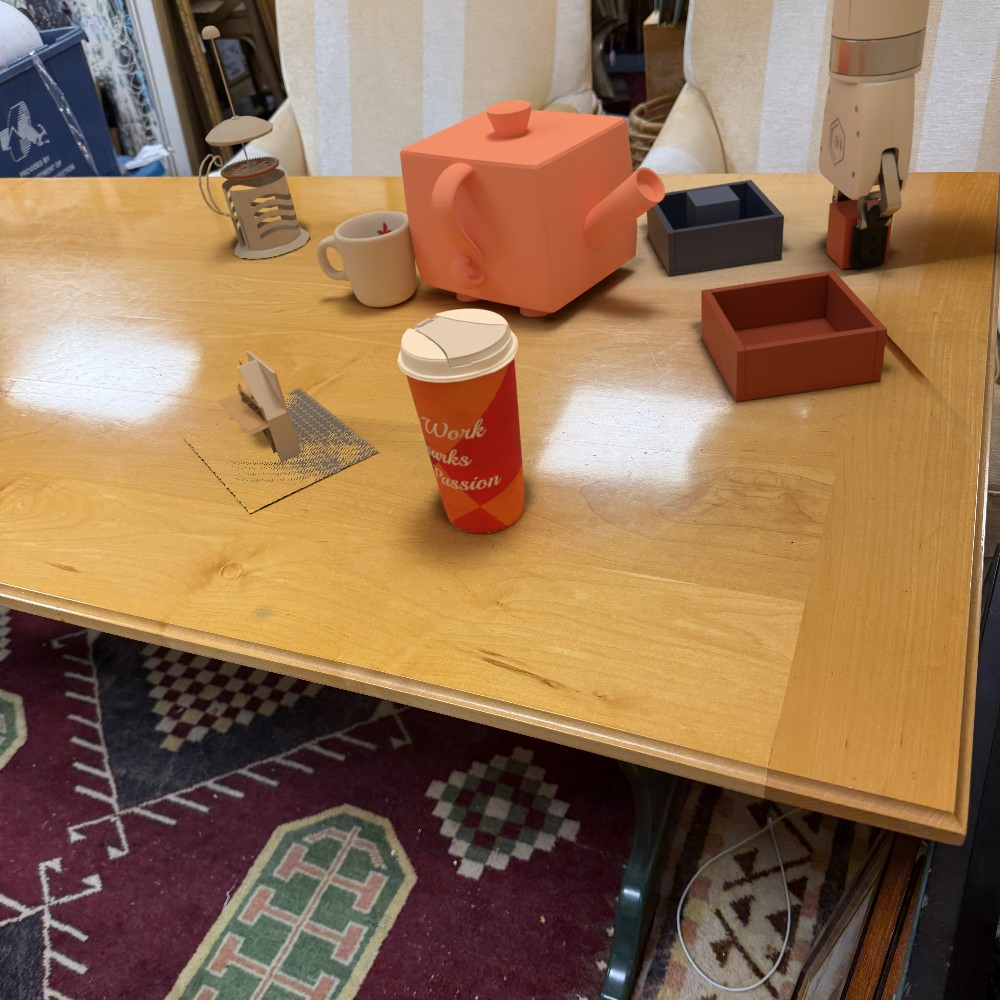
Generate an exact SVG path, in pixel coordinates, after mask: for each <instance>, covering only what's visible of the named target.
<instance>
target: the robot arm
mask: <svg viewBox="0 0 1000 1000" xmlns="http://www.w3.org/2000/svg"><path fill="white" fill-rule="evenodd" d="M930 2H931V0H833V3H832V4H833V5H832V16H831V31H830V32H831V34H830V48H829V60H828V61H829V63H828V74H827V75H828V77H829V81H828V85H827V91H826V97H825V103H824V110H823V119H822V126H821V127H822V128H821V136H820V145H819V154H818V169H819V172H820V174H821V175H822V176H823V178H825V179H826V180H827V181H828V182H829V183H830V184H832V185H833V189H832V197H831V203H834V202H841V201H847V200H857V226H855V227H852V238H851V249H850V259H849V265H850V266H851V269H853V270H857V269H862V268H868V267H876V266H881V265H883V264H884V263H885V262H884V261H885V254H886V245H887V237H888V228H889V226H890V224H891V221H892V222H893V218H892V216H893V217H894V214H896V212H898V211H899V210H901V208H902V203H903V202H902V195H901V192H902V191H904V189H905V187H906V185H907V181H908V177H909V171H910V165H911V157H912V150H913V149H912V146H913V137H914V136H913V135H914V123H915V122H914V121H915V104H916V103H915V102H916V101H915V99H916V98H915V97H916V76H915V75H916V74H918V73H919V72H921V70H922V67H923V66H922V65H923V58H924V49H925V42H926V34H927V25H928V17H929V10H930ZM874 186H878V187H879V189H878V190H873V191H872V189H873V187H874ZM875 199H879V200H880V201H879V202H878V204H877V205H873V206H872V207H871V208H870V209H869V211H868V201H869V200H875Z"/></svg>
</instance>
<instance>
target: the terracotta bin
mask: <svg viewBox="0 0 1000 1000" xmlns="http://www.w3.org/2000/svg"><path fill="white" fill-rule="evenodd" d="M700 295H701V297H700V298H701V300H700V302H701V304H700V305H701V307H700V308H701V309H700V311H701V313H700V314H701V315H700V316H701V317H700V318H701V320H700V321H701V329H700V334H701V339H702V341H703V342H704V345H705V346H706V349H707V350H708V352H709V354H710V356H711V358H712V360H713V361H714V363H715V365H716V367H717V369H718V371H719V373H720V375H721V376H722V379H723V380H724V382H725V384H726V386H727V388H728V389H729V392H730V394H731V395H732V397H733V399H734V401H735V402H738V403H739V402H744V401H745V402H746V401H751V400H757V399H763V398H764V399H765V398H772V397H778V396H784V395H793V394H798V393H806V392H814V391H819V390H826V389H833V388H839V387H840V388H841V387H846V386H854V385H861V384H867V383H872V382H873V383H874V382H880V381H881V380H882V372H883V364H884V356H885V349H886V342H887V334H888V328H887V327H886V326H885V325H884V324H883V323H882V322H881V320H879V318H878V317H877V316H876V315H875V313H873V312H872V311H871V309H870V308H869V307H867V305H866V304H865V303H864V302H863V300H861V299H860V298H859V297H858V295H857V294H856V293H855V292H854V291H853V290H852V289H851V288H850V287H849V285H848V284H847V283H846V282H845V281H844V280H843V279H842V278H841V276H840V275H839V274H837V272H836V271H835V270H827V271H821V272H815V273H807V274H801V275H795V276H788V277H782V278H781V277H780V278H775V279H768V280H761V281H754V282H747V283H740V284H735V285H729V286H720V287H715V288H707V289H701V294H700Z"/></svg>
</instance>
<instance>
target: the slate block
mask: <svg viewBox="0 0 1000 1000" xmlns="http://www.w3.org/2000/svg"><path fill="white" fill-rule="evenodd" d="M739 202H740V200H739V198H738V197H737V196H736V195H735V194H734V192H733V191H732V190H731V189H730V187H729V186H723V187H717V188H710V189H704V190H697V191H691V192H687V193H686V209H687V228H690V227H696V226H703V225H710V224H716V223H723V222H729V221H736V220H739Z"/></svg>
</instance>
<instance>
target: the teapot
mask: <svg viewBox="0 0 1000 1000" xmlns="http://www.w3.org/2000/svg"><path fill="white" fill-rule="evenodd" d="M628 128H629V126H628V121H627V120H626V118H625V117H619V116H611V115H600V114H592V113H591V114H590V113H589V114H588V113H580V112H579V113H578V112H568V111H553V110H537V109H536V110H535V109H532V103H531V102H530V101H527V100H522V99H511V100H504V101H500V102H497V103H494V104H492V105H490V106H489V107H487V108H486V109H485V111H482V112H480V113H478V114H475V115H474V116H471V117H468V118H466V119H464V120H461V121H460V122H457V123H456V124H455V123H454V124H453V125H450V126H448V127H446V128H444V129H442V130H439V131H437V132H435V133H433V134H431V135H429V136H427V137H424V138H422V139H419V140H418V141H416V142H414V143H412V144H410V145H407V146H405V147H403V148H401V150H400V152H399V158H400V167H401V175H402V176H401V177H402V183H403V192H404V200H405V208H406V214H407V215H408V222H409V228H410V234H411V240H412V246H413V251H414V257H415V264H416V269H417V270H418V274H419V277H420V280H421V283H422V284H424V285H427V286H430V287H434V288H437V289H441V290H444V291H447V292H452V293H456V295H455V296H456V299H457V300H459V301H461V302H476V301H479V300H485V301H489V302H494V303H499V304H504V305H509V306H513V307H517V308H519V313H520V315H522V316H525V317H529V318H538V317H543V316H547V315H549V314H552V313H555V312H557V311H559V310H560V309H561V308H563V307H565V306H566V305H567V304H570V303H571V302H572V301H574V300H575V299H576V298H578V297H580V296H581V295H582V294H584V293H585V292H587V291H588V290H589V289H591V288H592V287H594V286H595V285H597V284H599V282H601V281H603V280H604V279H605V278H607V277H608V276H609V275H611V274H613V273H614V272H615V271H616V270H618V269H619V268H620V267H622V266H624V265H626V263H628V262H629V261H631V260H632V259H634V257H636V255H637V244H638V243H637V242H638V219H639V218H640V217H642V216H643V215H644V214H646V213H647V211H648V210H649V209H651V208H652V207H653V206H655V205H656V204H658V203H659V202H660V201H661V200H663V198H664V196H665V193H666V188H665V184H664V182H663V180H662V179H661V177H660V176H659V175H658V174H657V172H655V171H654V170H653V169H651V168H649V167H646V166H642V167H639V168H638V169H636V170H635V171H634V169H633V160H632V151H631V142H630V135H629V129H628Z"/></svg>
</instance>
